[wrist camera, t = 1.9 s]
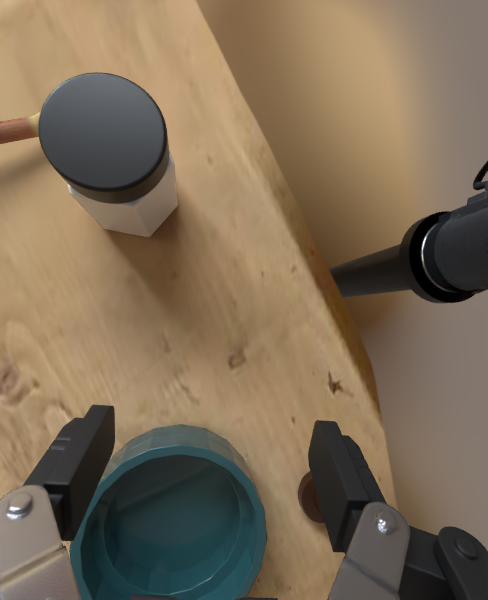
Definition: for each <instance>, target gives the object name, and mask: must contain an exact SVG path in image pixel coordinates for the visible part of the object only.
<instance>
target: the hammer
mask: <svg viewBox="0 0 488 600" xmlns="http://www.w3.org/2000/svg"><path fill="white" fill-rule="evenodd" d="M40 112H41V111H40ZM40 112H39V113H38V114H36V115H35V116H31V117H25V118H19V119H13V120H7V121H1V122H0V144H3V143H8V142H13V141H18V140H23V139H28V138H33V137H38V136H39V133H38V122H39V116H40Z"/></svg>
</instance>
